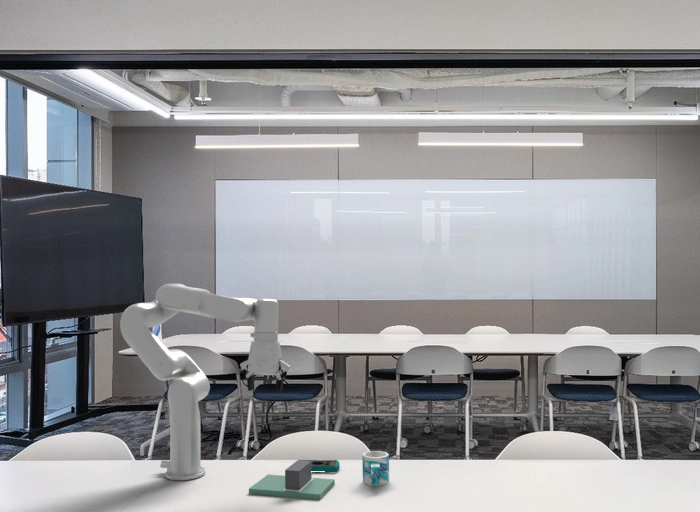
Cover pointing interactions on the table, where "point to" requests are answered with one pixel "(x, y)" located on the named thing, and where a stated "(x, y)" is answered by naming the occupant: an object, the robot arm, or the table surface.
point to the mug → (375, 467)
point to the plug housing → (298, 475)
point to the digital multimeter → (325, 465)
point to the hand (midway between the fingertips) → (264, 391)
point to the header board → (276, 487)
